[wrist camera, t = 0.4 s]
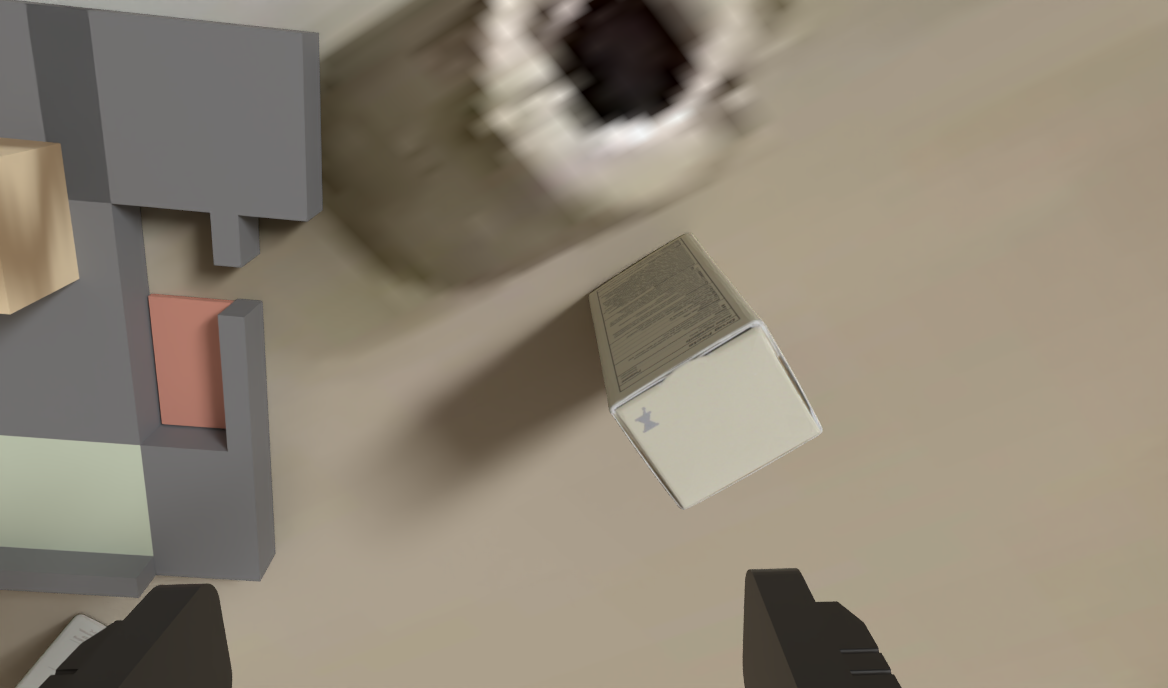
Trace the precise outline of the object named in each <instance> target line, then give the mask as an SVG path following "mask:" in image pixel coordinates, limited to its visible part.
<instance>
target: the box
mask: <svg viewBox="0 0 1168 688" xmlns="http://www.w3.org/2000/svg"><path fill="white" fill-rule="evenodd" d="M589 303H590V309H591V314H592V319H593V324H594V329H595V334H596V340H597V345H598V350H599V355H600V361H601V367H602V373H603V378H604V383H605V389H606V394H607V400H608V407H609V411H610V413H611V414H612V416H613V417H614V418H615V420H616V421H617V423H618V424H619V426H620V427H621V429H622V430H623V432H624V433H625V435H626V436H627V438H628V439H629V441H630V442H631V443H632V445H633V446H634V448H635V449H636V451H637V452H638V453H639V455H640V456H641V458H642V459H643V460H644V462H645V463H646V464H647V466H648V467H649V469H650V470H651V472H652V473H653V474H654V476H655V477H656V478H657V480H658V481H659V482H660V484H661V485H662V486H663V487H664V489H665V490H666V491H667V493H668V494H669V495H670V496H671V497H672V499H673V500H674V502H675V503H676V504H677V506H678V507H679V508H680V509H683V510H684V509H687V508H690V507H692V506H694V505H695V504H697V503H699V502H701V501H703V500H705V499H707V498H709V497H710V496H712V495H714V494H716V493H718V492H720V491H722V490H723V489H725V488H727V487H729V486H731V485H732V484H734V483H736V482H738V481H740V480H742V479H743V478H745V477H747V476H749V475H751V474H753V473H754V472H756V471H758V470H759V469H761V468H763V467H765V466H766V465H768V464H770V463H772V462H773V461H775V460H777V459H778V458H780V457H782V456H784V455H785V454H787V453H789V452H791V451H792V450H794V449H796V448H797V447H799V446H801V445H802V444H804V443H806V442H808V441H809V440H811V439H813V438H815V437H817V436H818V435H820V434H821V433H822V426H821V424H820V422H819V420H818V418H817V416H816V414H815V412H814V410H813V408H812V407H811V405H810V403H809V401H808V399H807V397H806V395H805V393H804V391H803V389H802V388H801V386H800V384H799V382H798V380H797V378H796V376H795V375H794V373H793V371H792V369H791V368H790V366H789V364H788V362H787V360H786V359H785V357H784V355H783V353H782V352H781V350H780V348H779V347H778V345H777V343H776V342H775V340H774V338H773V337H772V335H771V333H770V331H769V330H768V328H767V326H766V324H765V323H764V322H763V320H762V319H761V318H760V317H759V316H758V315H757V314H756V313H755V311H754V310H753V309H752V308H751V307H750V305H749V304H748V303H747V302H746V301H745V299H744V298H743V297H742V296H741V294H740V293H739V292H738V291H737V290H736V288H735V287H734V286H733V284H732V283H731V282H730V280H729V279H728V278H727V277H726V276H725V274H724V273H723V272H722V271H721V270H720V268H719V267H718V266H717V265H716V264H715V262H714V261H713V260H712V258H711V257H710V256H709V254H708V253H707V252H706V250H705V249H704V248H703V247H702V245H701V244H700V243H699V242H698V240H697V239H696V238H695V236H694V235H693V234H691V233H686V234H684V235H682V236H680V237H679V238H677V239H675V240H674V241H672V242H670V243H668V244H667V245H665V246H663V247H661V248H660V249H658V250H657V251H655V252H653V253H652V254H650V255H648V256H647V257H645V258H644V259H642V260H641V261H639V262H638V263H636V264H634V265H633V266H631V267H630V268H628V269H627V270H625V271H623V272H622V273H620V274H619V275H617V276H615V277H614V278H612V279H611V280H610V281H608V282H607V283H605V284H604V285H602V286H601V287H599V288H598V289H596V290H595V291H593V292H592V293H590V294H589Z"/></svg>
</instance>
